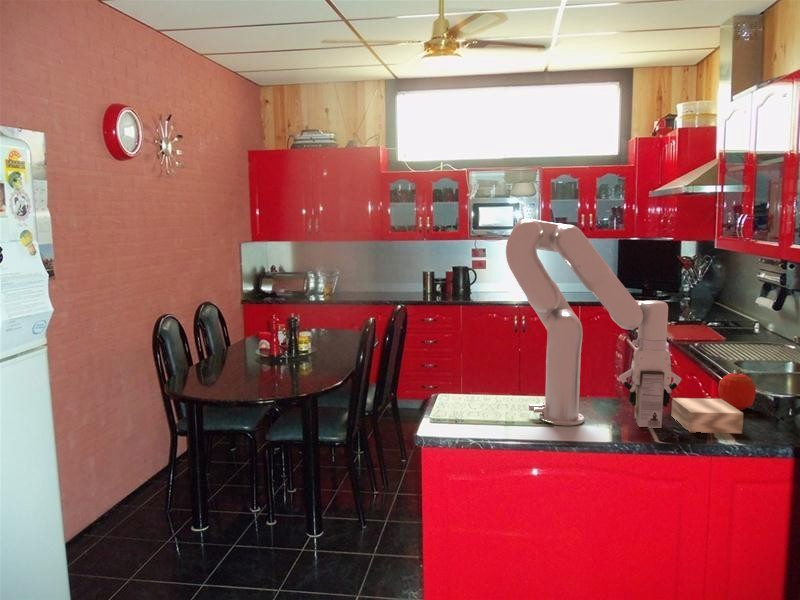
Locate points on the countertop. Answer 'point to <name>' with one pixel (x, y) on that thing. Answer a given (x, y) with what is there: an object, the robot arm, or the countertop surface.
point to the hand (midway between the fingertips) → (648, 404)
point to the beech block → (707, 415)
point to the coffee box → (650, 399)
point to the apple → (737, 390)
